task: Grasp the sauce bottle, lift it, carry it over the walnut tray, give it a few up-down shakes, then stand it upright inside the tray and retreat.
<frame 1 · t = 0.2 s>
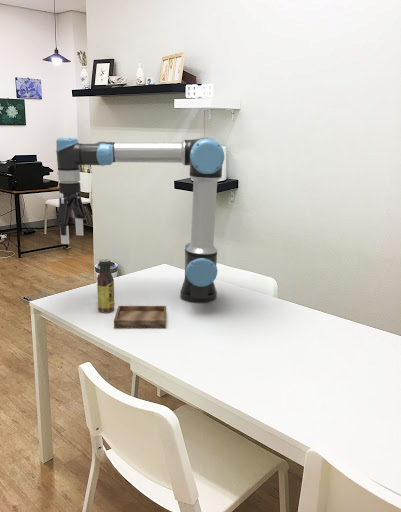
hand: (72, 239, 181), 27 cm above the table, fingers open, 13 cm apart
sauce bottle: (106, 310, 188), on the table
tray: (141, 320, 179), on the table
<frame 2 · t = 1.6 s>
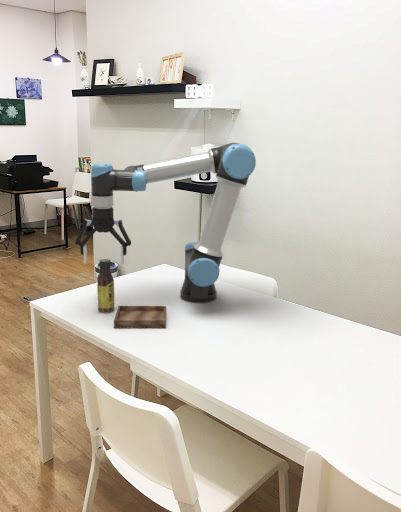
hand: (104, 263, 183), 19 cm above the table, fingers open, 13 cm apart
nothing on the table moved.
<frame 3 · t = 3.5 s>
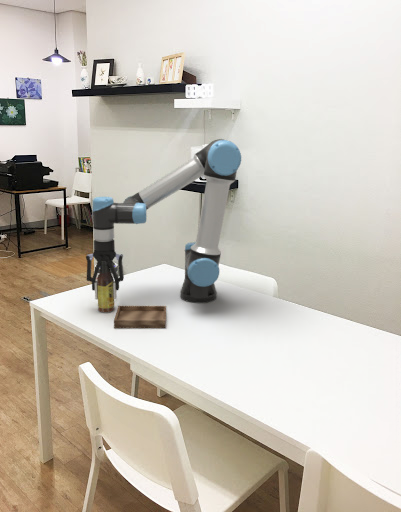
hand: (106, 298, 186), 5 cm above the table, fingers closed on sauce bottle, 6 cm apart
sauce bottle: (106, 310, 188), on the table, touching gripper
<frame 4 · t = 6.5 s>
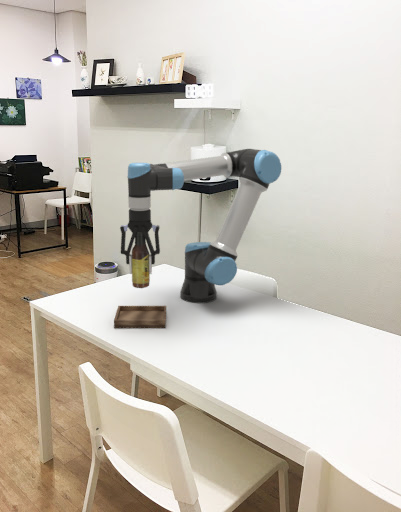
hand: (140, 272, 174), 18 cm above the table, fingers closed on sauce bottle, 6 cm apart
sauce bottle: (141, 286, 175), point 13 cm above the table, touching gripper
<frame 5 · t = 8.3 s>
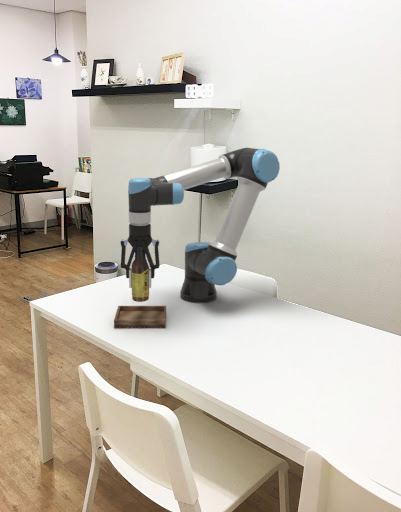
hand: (140, 286, 175), 13 cm above the table, fingers closed on sauce bottle, 6 cm apart
sauce bottle: (140, 300, 177), point 8 cm above the table, touching gripper
when the fingers open (7 cm above the table, at t = 9.7 s): sauce bottle stays where it is, resting on tray.
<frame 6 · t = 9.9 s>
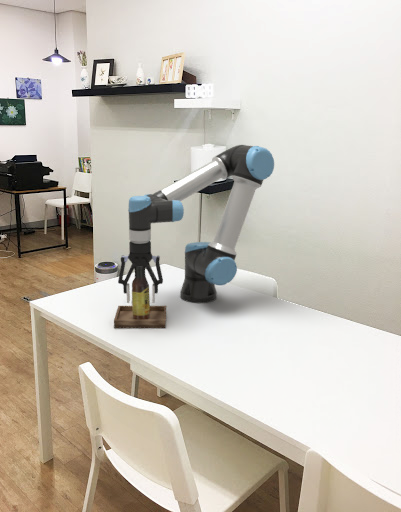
hand: (141, 301, 177), 7 cm above the table, fingers open, 8 cm apart
sauce bottle: (141, 317, 178), point 1 cm above the table, touching tray
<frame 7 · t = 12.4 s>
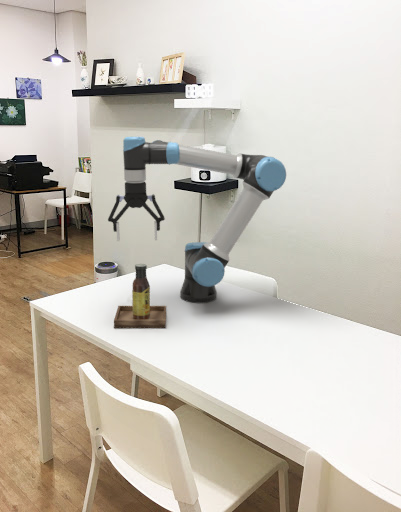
hand: (137, 239, 179), 28 cm above the table, fingers open, 13 cm apart
nothing on the table moved.
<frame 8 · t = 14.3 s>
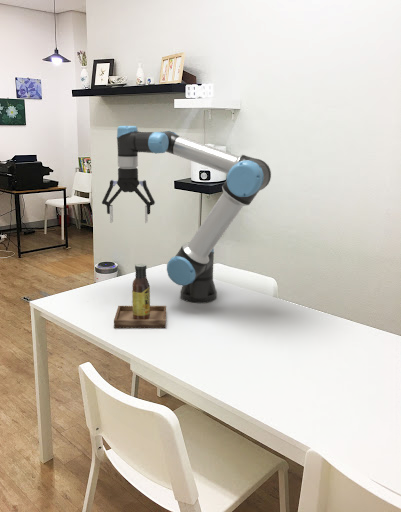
hand: (129, 222, 192), 32 cm above the table, fingers open, 13 cm apart
nothing on the table moved.
at the end: sauce bottle inside the target area on the tray (0.1 cm from its centre), point 1.0 cm above the tray's base; sauce bottle tilted 0°; the gripper is holding nothing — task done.
